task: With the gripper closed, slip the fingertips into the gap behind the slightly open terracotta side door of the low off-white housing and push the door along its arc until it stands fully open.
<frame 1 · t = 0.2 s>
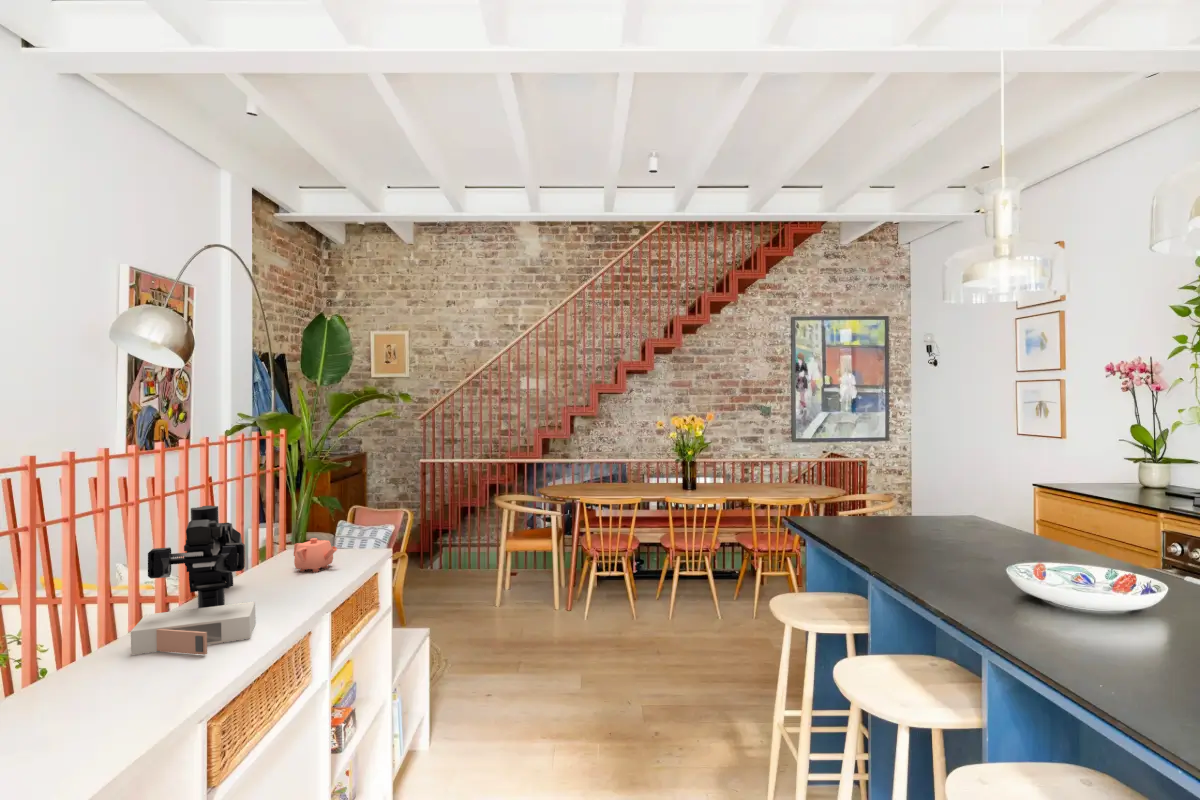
hand: (190, 569, 141), 17 cm above the shelf, tool horizontal, fingers open, 9 cm apart
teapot: (314, 570, 206), on the shelf
housing: (197, 637, 147), on the shelf
side door: (181, 641, 137), point 3 cm above the shelf, hinge at 35.0°, touching housing
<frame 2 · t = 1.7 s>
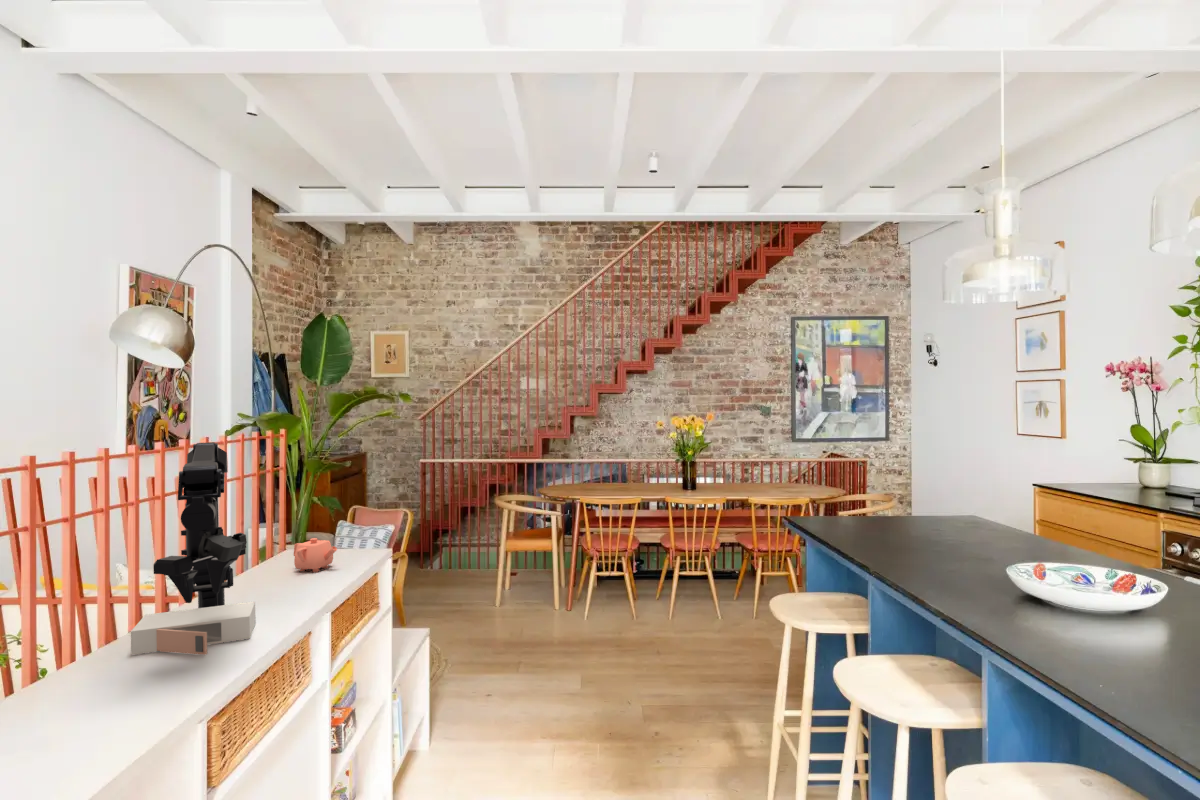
hand: (202, 597, 139), 11 cm above the shelf, tool pointing down, fingers open, 7 cm apart
nothing on the shelf moved.
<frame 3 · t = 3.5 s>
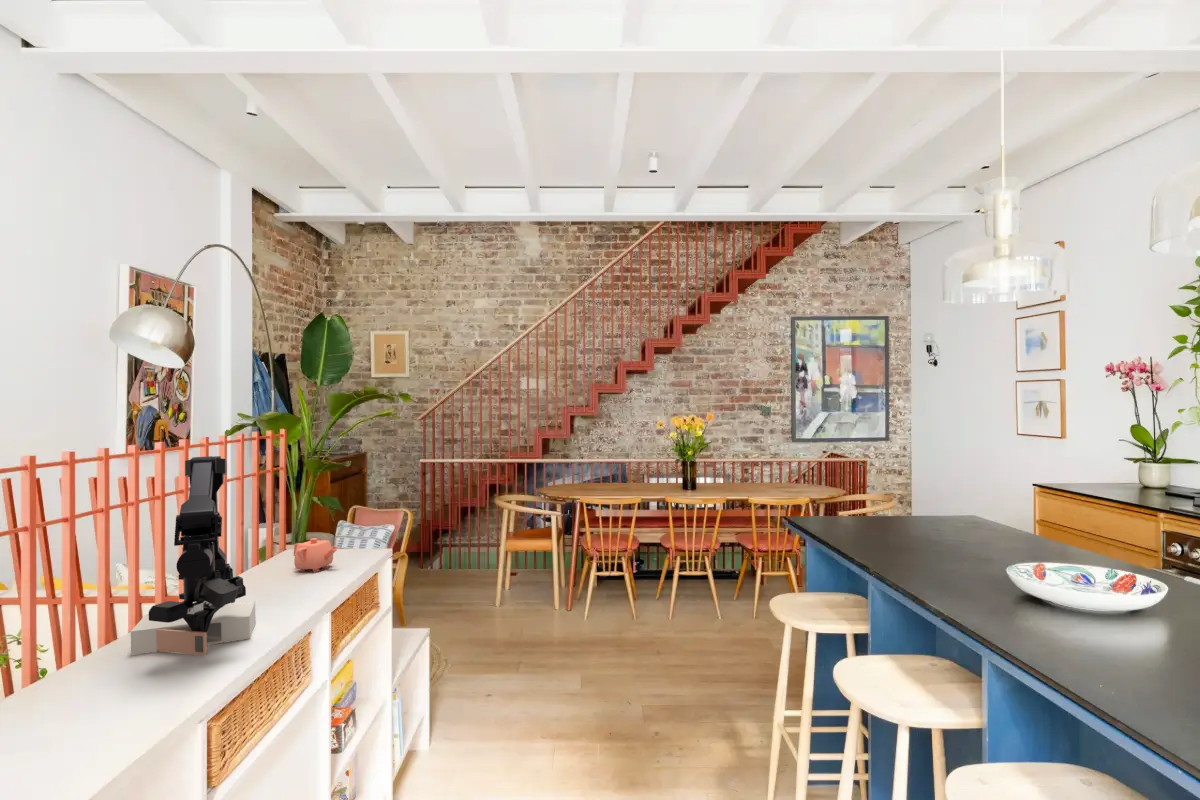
hand: (201, 641, 138), 2 cm above the shelf, tool pointing down, fingers closed
side door: (180, 642, 137), point 3 cm above the shelf, hinge at 35.5°, touching gripper
everything else where it was.
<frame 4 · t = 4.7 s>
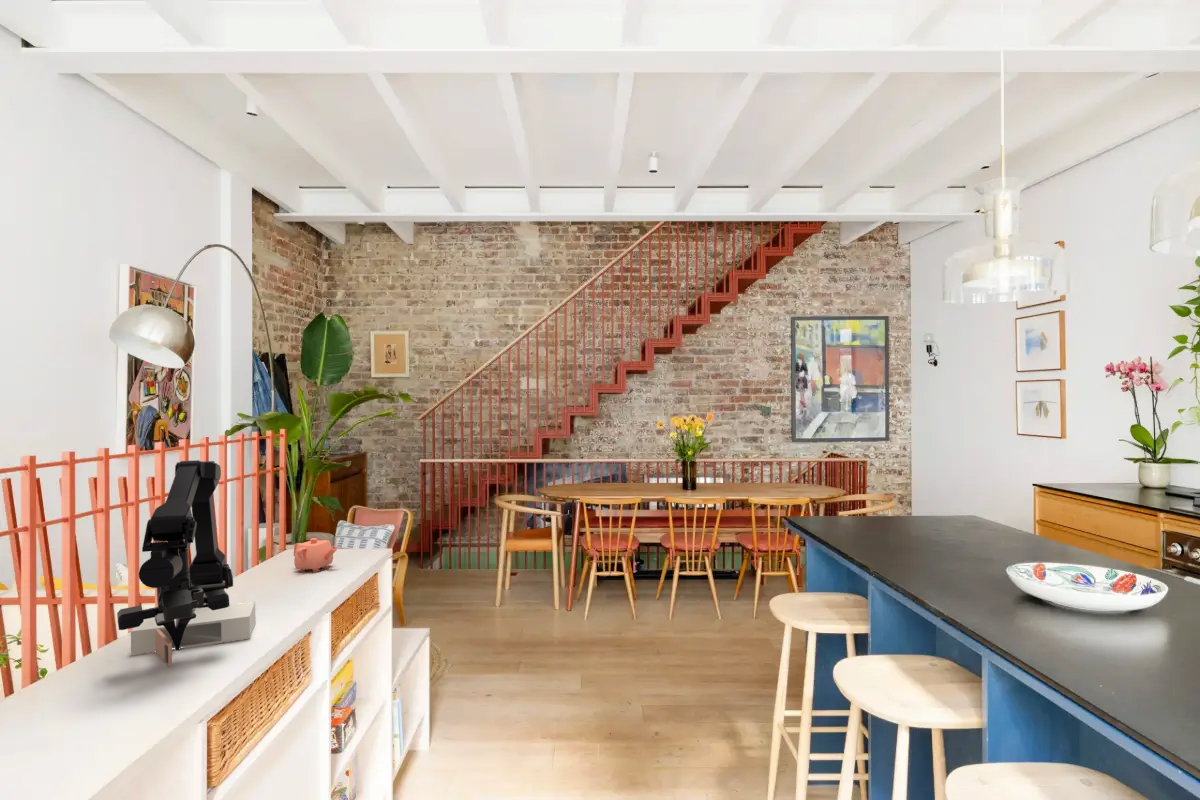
hand: (177, 650, 133), 2 cm above the shelf, tool pointing down, fingers closed
side door: (162, 647, 134), point 3 cm above the shelf, hinge at 68.3°, touching gripper, housing
everything else where it was.
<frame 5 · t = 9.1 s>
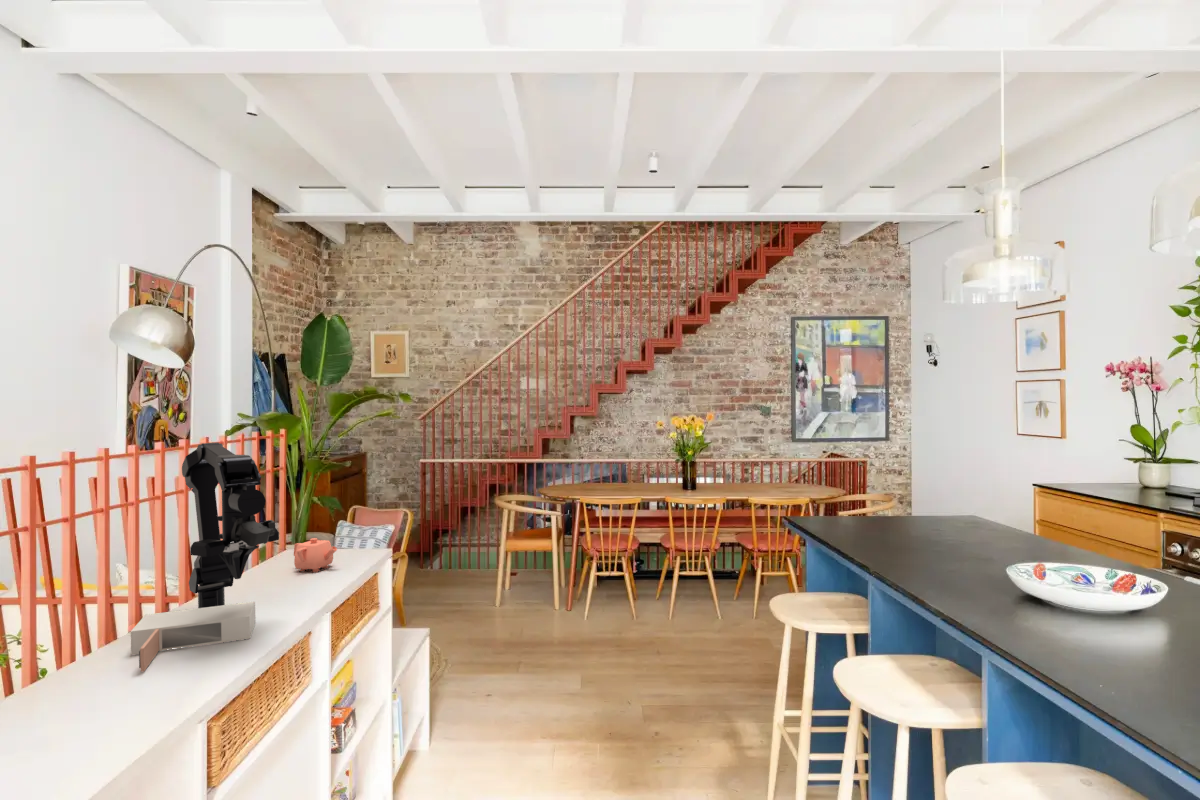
hand: (237, 578, 151), 12 cm above the shelf, tool pointing down, fingers closed
side door: (149, 649, 133), point 3 cm above the shelf, hinge at 90.2°, touching housing
everything else where it was.
at the end: side door at +90° (first picture: +35°) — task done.
